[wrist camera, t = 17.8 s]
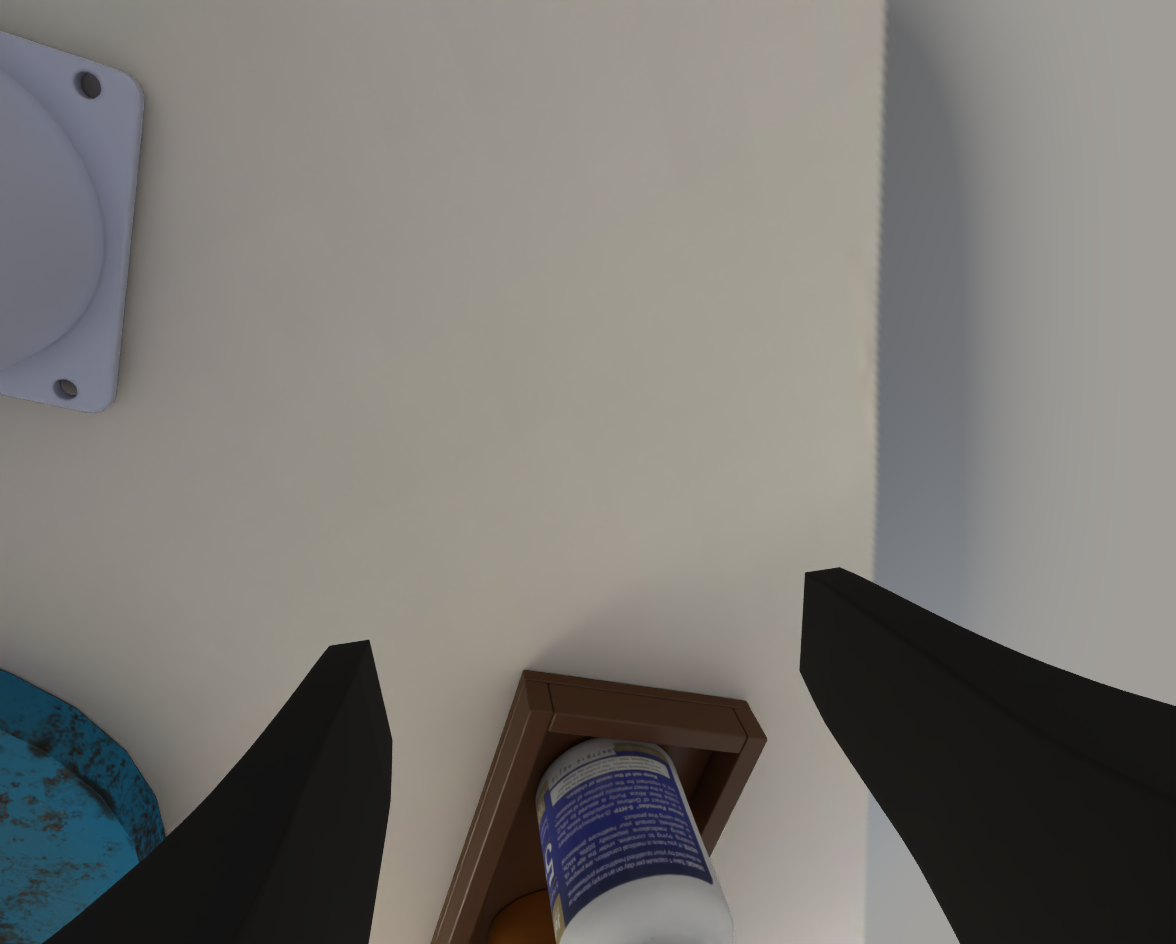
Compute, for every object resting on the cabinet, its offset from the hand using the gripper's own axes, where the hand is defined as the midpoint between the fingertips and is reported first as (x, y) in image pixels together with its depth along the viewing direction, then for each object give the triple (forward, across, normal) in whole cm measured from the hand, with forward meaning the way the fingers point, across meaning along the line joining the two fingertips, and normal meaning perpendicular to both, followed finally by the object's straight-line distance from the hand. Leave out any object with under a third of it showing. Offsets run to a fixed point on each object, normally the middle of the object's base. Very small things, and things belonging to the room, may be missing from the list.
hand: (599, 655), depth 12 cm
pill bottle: (+10, -1, +14) cm, 17 cm away
